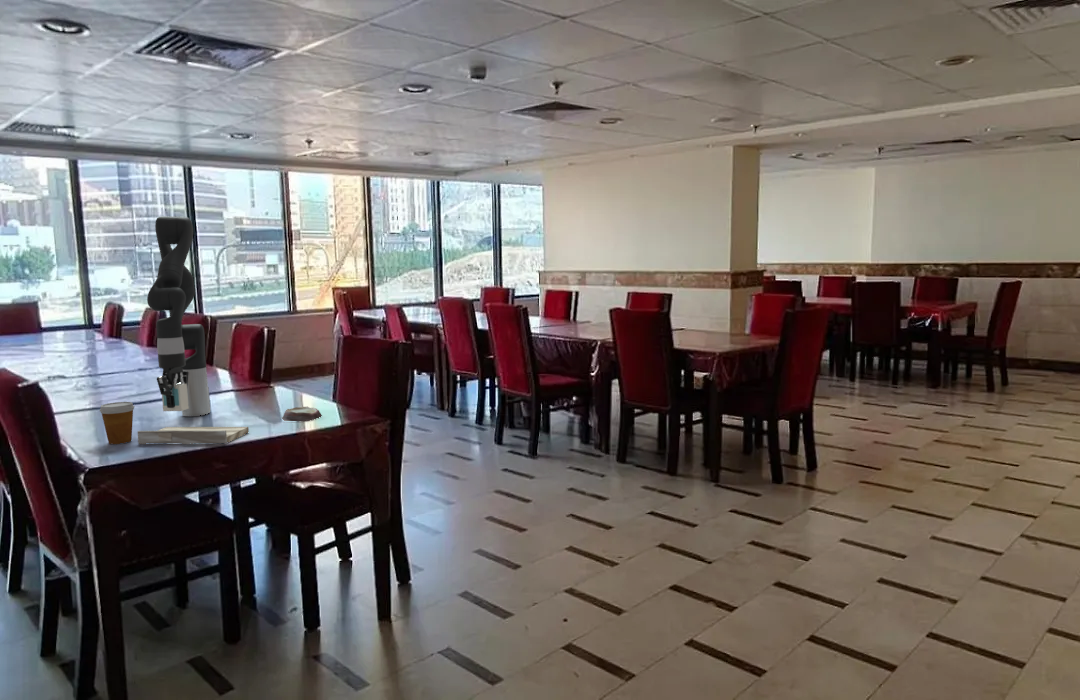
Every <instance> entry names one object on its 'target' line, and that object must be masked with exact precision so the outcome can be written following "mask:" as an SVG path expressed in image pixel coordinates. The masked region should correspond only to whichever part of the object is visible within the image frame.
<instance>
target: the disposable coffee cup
mask: <svg viewBox="0 0 1080 700" xmlns="http://www.w3.org/2000/svg"><path fill="white" fill-rule="evenodd" d="M134 410H135V405H134V404H133V402H131V401H116V402H109V403H105V404H101V406H100V409H99V412H100V413H101V417H102V421H103V424H104V429H105V433H106V437H107V441H108V444H109V445H121V444H120V443H123V444H127V443H126V442H128V443H130V442H131V440H132V439H133V438H132V437H133V421H134V420H133V417H134Z"/></svg>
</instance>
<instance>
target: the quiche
mask: <svg viewBox="0 0 1080 700" xmlns="http://www.w3.org/2000/svg"><path fill="white" fill-rule="evenodd" d="M321 416H322V417H323V415H322V412H320V410H319V409H318V408H315V407H310V406H302V407H301V406H299V407H298V406H297V407H296V406H294V407H292V408H286V409H285V411H284V412H283V415H282V417H281V418H282V419H283V420H284V421H304V422H310V420H311V421H315V420H317V419H316V418H318V419H320V418H322V417H321ZM319 417H320V418H319ZM314 419H315V420H314Z"/></svg>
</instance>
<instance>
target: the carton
mask: <svg viewBox="0 0 1080 700" xmlns="http://www.w3.org/2000/svg"><path fill="white" fill-rule="evenodd" d="M169 386H171V385H169ZM163 389H164V391H165V388H163ZM169 389H170V392H171V388H169ZM173 396H174V401H175V407H174V408H168V407H167V401H166V396H165V395H161V401H162V411H163V412H182V411H183V410H186V409H189V406H188V394H187V384H176V388H175V389H174V395H173Z"/></svg>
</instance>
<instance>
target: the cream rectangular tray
mask: <svg viewBox="0 0 1080 700" xmlns="http://www.w3.org/2000/svg"><path fill="white" fill-rule="evenodd" d="M249 430H250V429H249V426H165V427H163V428H160V429H157V430H137V432H136V433H137V442H138V445H147V444H146V443H182V444H181V445H194V444H193V443H227V442H229V443H231V442H233V441H235V440H237V439H239V438H241V437H243V436H245V435H247V434H246V433H248V432H249ZM249 433H250V432H249ZM249 433H248V434H249ZM244 434H245V435H244ZM242 435H243V436H242ZM240 436H241V437H240ZM238 437H239V438H238ZM236 438H237V439H236ZM234 439H235V440H234ZM232 440H233V441H232ZM230 441H231V442H230ZM190 443H191V444H190ZM227 444H228V443H227Z"/></svg>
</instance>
